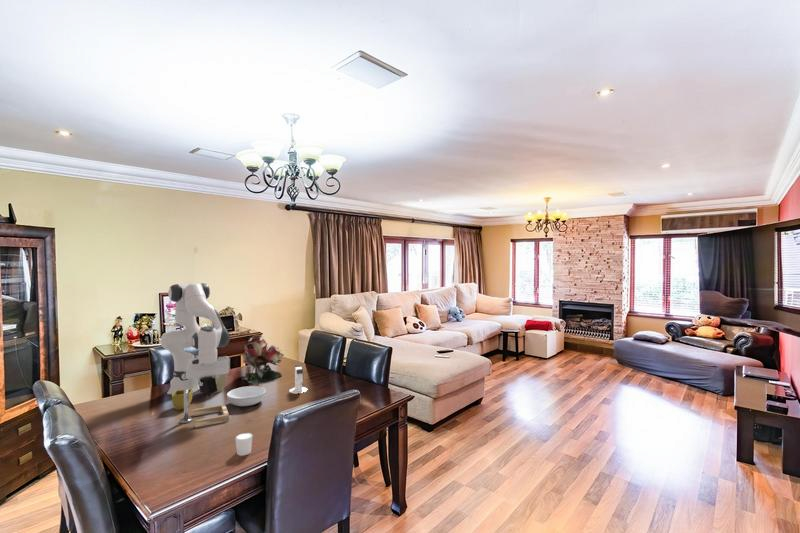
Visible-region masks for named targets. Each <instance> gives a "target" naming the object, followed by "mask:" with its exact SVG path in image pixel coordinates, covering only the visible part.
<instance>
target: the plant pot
mask: <svg viewBox="0 0 800 533" xmlns="http://www.w3.org/2000/svg"><path fill="white" fill-rule="evenodd" d="M207 377H210V376H207ZM211 377H212V378H215V379H216V375H214V376H211ZM227 378H228V374H222V375H219V378H218V379H217V384H216V385H217V391H216V392H214V393H213V394H216V393H217V394H218V393H222V392H223V390H224V387H225V385H226V381H227Z"/></svg>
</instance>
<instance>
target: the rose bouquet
mask: <svg viewBox="0 0 800 533" xmlns="http://www.w3.org/2000/svg"><path fill="white" fill-rule="evenodd" d="M247 342H248V343H245V344H244V346H243V348H244V349H243V350H244V352H243V353H242V354H241V357H242V364H245V365H249V366H251V367H252V370H251V372H246V373H245V376H244V377H242V378H241V381H243V380H245V381H247V383H249V384H251V386H255V385H259V384H263V383H265V382H269V381H271V380H274V379H275V380H276V379H277V378H279V377H282V373H281V372H280V371H278V370H272V367H271V366H270V365H269V364H272V365H274V366H279V367H280V366H281V365H279V364H280V363H281V362H282V361H283V360H282V359H283V357H284V356H285V355H284V353H283V352H282V351H283V350H281V349H280V348H279V347H278V346H277V345H268V342H267V340H265V339H264V336H263V335H261V334H254V335H253V336H250V339H249V340H247ZM262 366H264V367H263V368H261V367H262ZM253 371H254V372H253Z"/></svg>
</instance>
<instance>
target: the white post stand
mask: <svg viewBox="0 0 800 533" xmlns="http://www.w3.org/2000/svg"><path fill="white" fill-rule="evenodd" d="M303 380H304V370H303V368H302V365H300V364H296V365H295V367H294V387H292V388H290V389H289V393H290V394H295V395H297V394H298V393H299V394H303V392H304V393H306V392H308V391H307V390H309V389H308V388H307V387H304V383H303Z"/></svg>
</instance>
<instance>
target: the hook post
mask: <svg viewBox="0 0 800 533" xmlns="http://www.w3.org/2000/svg"><path fill="white" fill-rule="evenodd" d="M193 421H194V418H193V417H192V416H191V417H190V416H189V406H188V390H184V409H183V418H181V419H179V422H178V423H179V424H183V425H184V424H190V423H191V422H193Z"/></svg>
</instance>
